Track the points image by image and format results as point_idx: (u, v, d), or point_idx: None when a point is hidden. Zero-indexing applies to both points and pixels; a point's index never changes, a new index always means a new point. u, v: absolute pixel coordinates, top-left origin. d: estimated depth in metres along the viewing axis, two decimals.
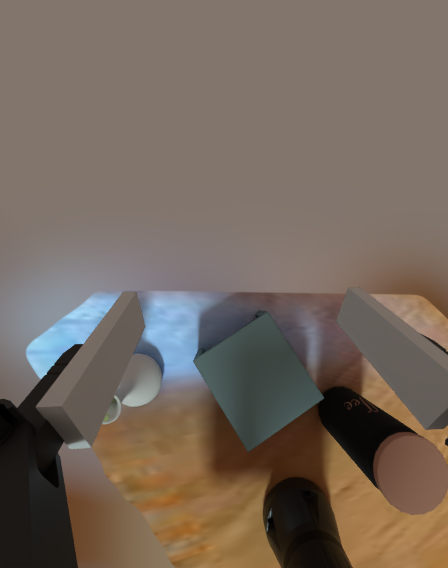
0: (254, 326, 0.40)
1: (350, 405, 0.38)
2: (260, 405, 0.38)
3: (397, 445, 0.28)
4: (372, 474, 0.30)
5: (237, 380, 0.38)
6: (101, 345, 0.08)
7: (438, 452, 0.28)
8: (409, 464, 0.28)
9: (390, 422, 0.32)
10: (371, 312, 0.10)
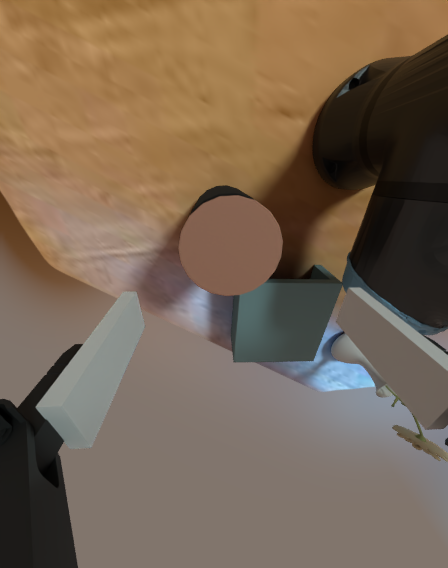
0: (252, 359, 0.43)
1: None
2: (298, 309, 0.36)
3: (225, 289, 0.22)
4: None
5: (297, 335, 0.40)
6: (101, 345, 0.08)
7: (182, 254, 0.20)
8: (227, 265, 0.20)
9: None
10: (371, 312, 0.10)
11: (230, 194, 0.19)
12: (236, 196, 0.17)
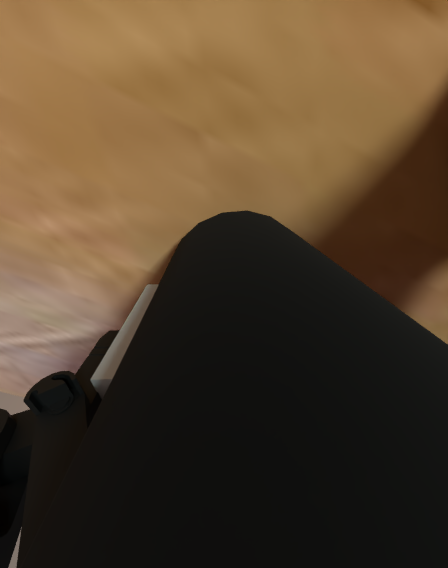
0: None
1: None
2: None
3: None
4: None
5: None
6: None
7: None
8: None
9: None
10: None
11: None
12: None
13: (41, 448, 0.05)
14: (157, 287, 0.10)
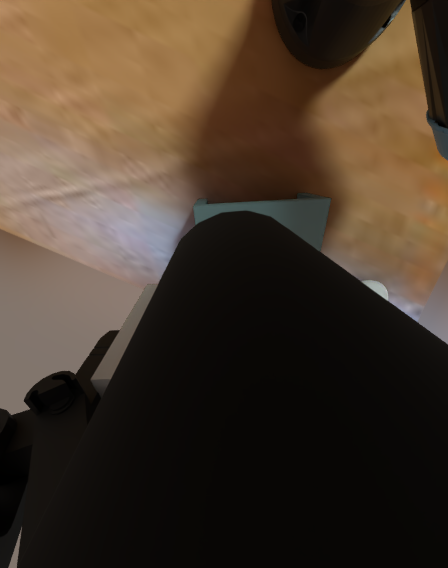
0: None
1: None
2: None
3: None
4: None
5: None
6: None
7: None
8: None
9: None
10: None
11: None
12: None
13: (42, 448, 0.05)
14: None
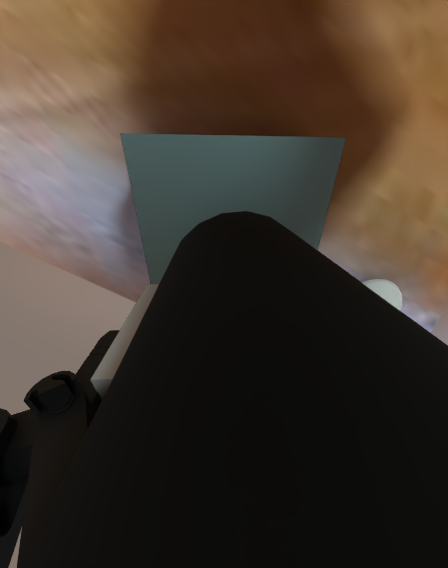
0: None
1: None
2: (257, 211, 0.18)
3: None
4: None
5: None
6: None
7: None
8: None
9: None
10: None
11: None
12: None
13: (42, 448, 0.05)
14: None
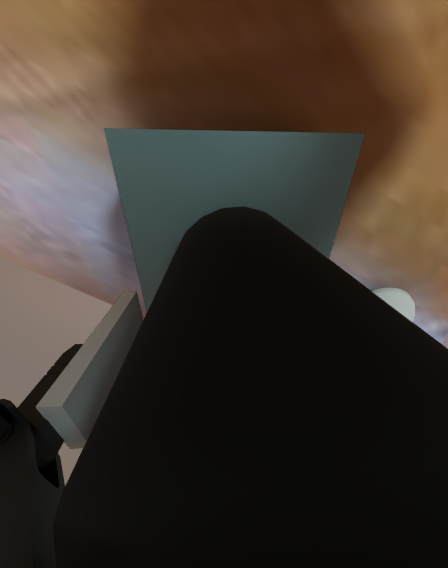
0: None
1: None
2: None
3: None
4: None
5: None
6: (101, 345, 0.08)
7: None
8: None
9: None
10: None
11: (371, 420, 0.02)
12: None
13: None
14: (166, 271, 0.12)
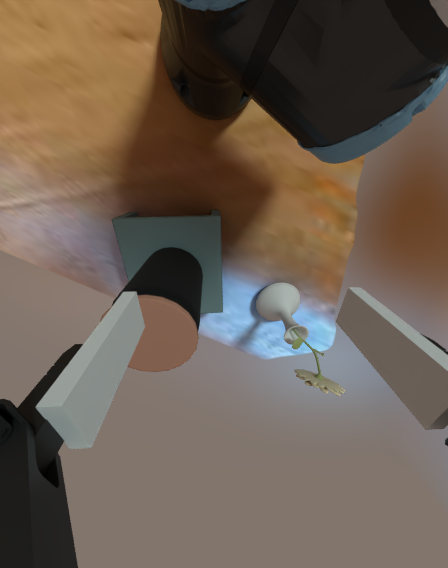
0: None
1: None
2: None
3: (152, 367, 0.23)
4: None
5: None
6: (101, 345, 0.08)
7: None
8: (148, 349, 0.22)
9: None
10: (371, 312, 0.10)
11: (144, 288, 0.21)
12: (141, 299, 0.19)
13: None
14: None
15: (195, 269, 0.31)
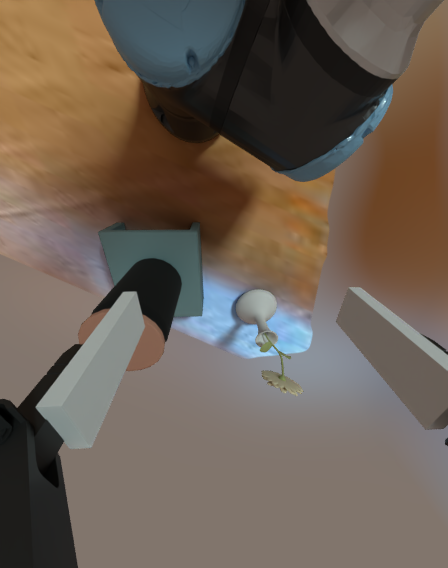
0: None
1: None
2: (164, 260, 0.39)
3: None
4: None
5: None
6: (101, 345, 0.08)
7: None
8: None
9: None
10: (371, 312, 0.10)
11: None
12: None
13: None
14: None
15: (171, 280, 0.35)
